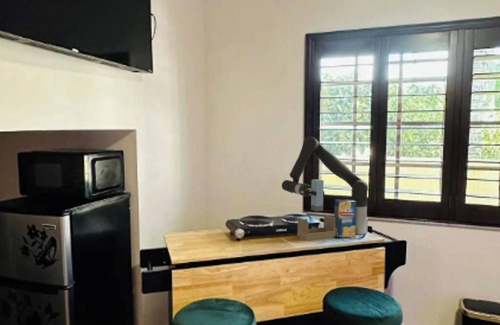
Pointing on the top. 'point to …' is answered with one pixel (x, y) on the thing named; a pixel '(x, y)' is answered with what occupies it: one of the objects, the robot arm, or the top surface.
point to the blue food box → (345, 218)
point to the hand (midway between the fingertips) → (320, 193)
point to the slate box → (317, 199)
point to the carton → (316, 229)
